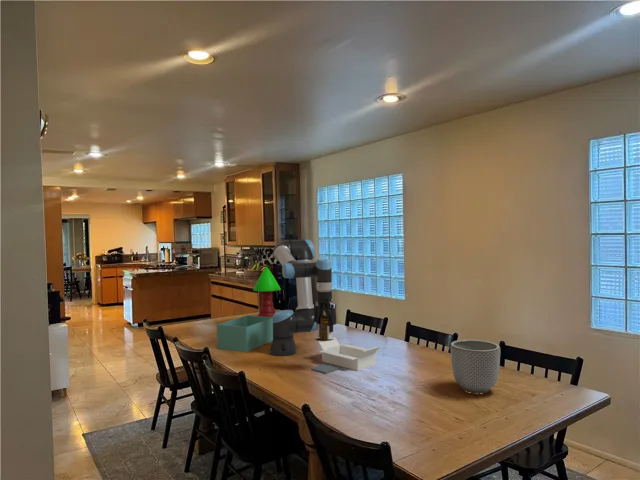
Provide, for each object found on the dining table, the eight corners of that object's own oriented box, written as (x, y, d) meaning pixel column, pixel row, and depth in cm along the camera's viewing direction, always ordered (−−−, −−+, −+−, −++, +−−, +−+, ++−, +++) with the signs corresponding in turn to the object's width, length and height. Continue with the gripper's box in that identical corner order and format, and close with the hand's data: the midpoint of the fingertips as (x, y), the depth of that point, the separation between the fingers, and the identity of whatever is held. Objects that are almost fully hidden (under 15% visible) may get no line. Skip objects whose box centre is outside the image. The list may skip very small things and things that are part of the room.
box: (217, 349, 262) (216, 324, 262) (247, 337, 291) (246, 315, 291) (246, 352, 254) (246, 327, 253) (274, 340, 283) (274, 317, 282)
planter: (495, 402, 172) (495, 353, 172) (445, 393, 182) (444, 347, 182) (504, 387, 189) (504, 342, 188) (457, 379, 199) (457, 337, 199)
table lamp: (257, 326, 325) (256, 265, 325) (284, 326, 322) (283, 265, 322) (250, 332, 306) (248, 267, 305) (278, 332, 303) (276, 266, 302)
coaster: (311, 369, 218) (311, 368, 218) (325, 365, 225) (325, 363, 225) (325, 373, 211) (325, 372, 211) (339, 369, 218) (339, 367, 218)
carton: (313, 361, 232) (313, 342, 232) (339, 353, 247) (339, 335, 247) (359, 373, 211) (358, 352, 210) (384, 364, 225) (384, 344, 225)
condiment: (335, 339, 217) (335, 315, 217) (321, 342, 213) (321, 317, 213) (327, 337, 223) (327, 313, 223) (313, 339, 219) (312, 315, 219)
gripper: (305, 290, 222) (306, 336, 222) (333, 293, 208) (334, 342, 208) (316, 288, 227) (316, 333, 227) (343, 291, 214) (344, 339, 214)
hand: (325, 337), depth 218 cm, fingers closed on condiment, 6 cm apart
